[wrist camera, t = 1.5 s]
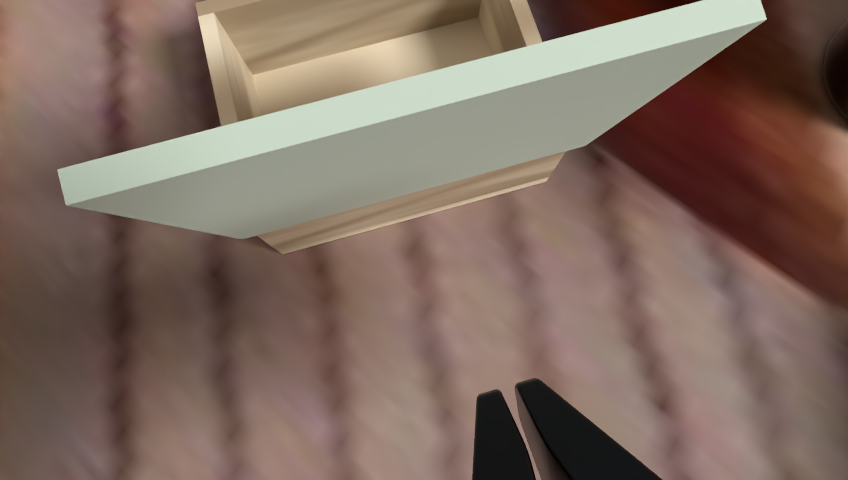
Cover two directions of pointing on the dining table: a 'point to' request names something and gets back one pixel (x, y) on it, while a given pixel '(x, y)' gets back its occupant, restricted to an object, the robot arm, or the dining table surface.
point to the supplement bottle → (838, 69)
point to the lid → (409, 129)
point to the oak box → (358, 78)
